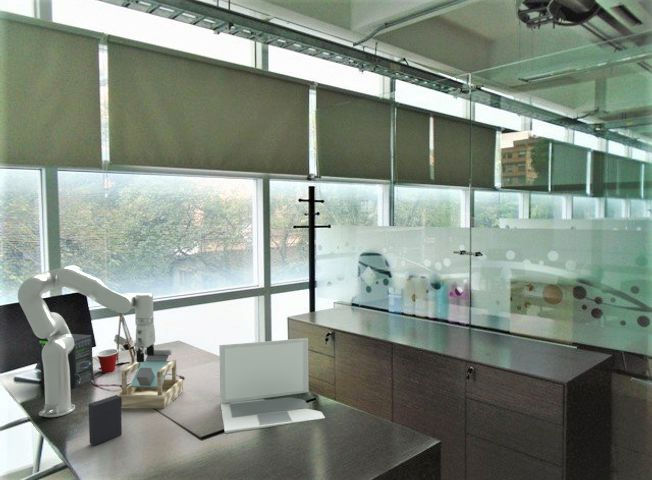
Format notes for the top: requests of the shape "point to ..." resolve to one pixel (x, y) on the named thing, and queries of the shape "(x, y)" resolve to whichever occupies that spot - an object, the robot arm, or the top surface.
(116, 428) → the calculator
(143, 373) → the basalt block
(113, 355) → the plastic cup
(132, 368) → the tan crate frame
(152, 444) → the top surface
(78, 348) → the headset box
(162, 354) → the hatch
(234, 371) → the laptop
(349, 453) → the top surface
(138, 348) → the robot arm
